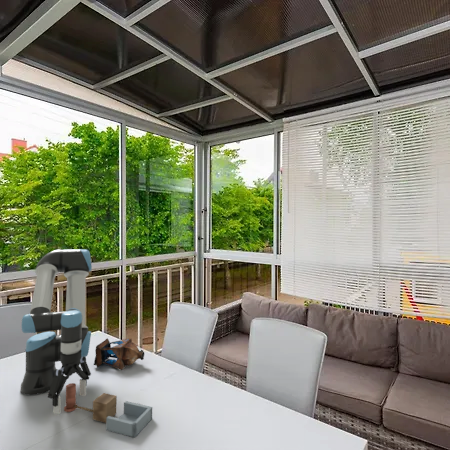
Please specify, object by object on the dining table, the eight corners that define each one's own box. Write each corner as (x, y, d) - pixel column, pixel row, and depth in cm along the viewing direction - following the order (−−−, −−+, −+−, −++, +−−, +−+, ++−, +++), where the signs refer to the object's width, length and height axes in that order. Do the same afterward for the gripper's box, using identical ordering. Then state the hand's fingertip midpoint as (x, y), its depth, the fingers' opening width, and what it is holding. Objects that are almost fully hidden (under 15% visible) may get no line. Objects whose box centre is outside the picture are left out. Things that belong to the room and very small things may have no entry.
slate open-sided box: (106, 430, 113) (106, 417, 113) (125, 412, 124) (125, 400, 124) (134, 437, 110) (134, 425, 110) (152, 418, 120) (152, 407, 120)
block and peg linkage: (59, 411, 124) (60, 388, 123) (71, 403, 129) (72, 380, 129) (105, 423, 117) (106, 398, 117) (116, 414, 122) (116, 390, 122)
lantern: (99, 375, 166) (144, 377, 162) (86, 361, 156) (134, 362, 152) (110, 346, 178) (152, 347, 174) (99, 331, 168) (143, 331, 164)
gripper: (52, 365, 113) (52, 424, 113) (100, 341, 136) (99, 390, 136) (36, 362, 115) (36, 420, 115) (86, 338, 138) (85, 387, 138)
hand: (70, 403), depth 126 cm, fingers open, 12 cm apart
